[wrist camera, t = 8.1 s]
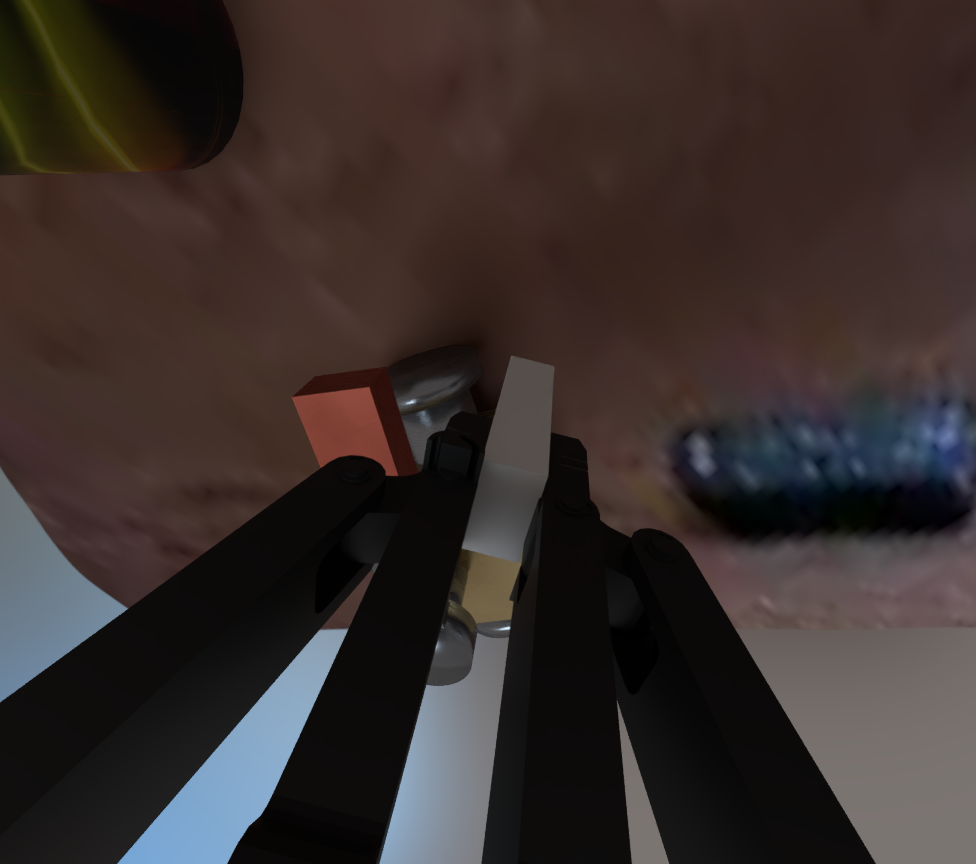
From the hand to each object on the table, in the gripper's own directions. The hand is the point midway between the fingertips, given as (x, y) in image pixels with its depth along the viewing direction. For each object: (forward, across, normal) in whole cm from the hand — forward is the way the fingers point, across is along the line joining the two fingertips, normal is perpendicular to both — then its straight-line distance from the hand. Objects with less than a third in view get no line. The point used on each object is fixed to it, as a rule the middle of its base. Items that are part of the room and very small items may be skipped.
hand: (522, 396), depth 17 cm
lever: (+2, -3, -6) cm, 7 cm away
